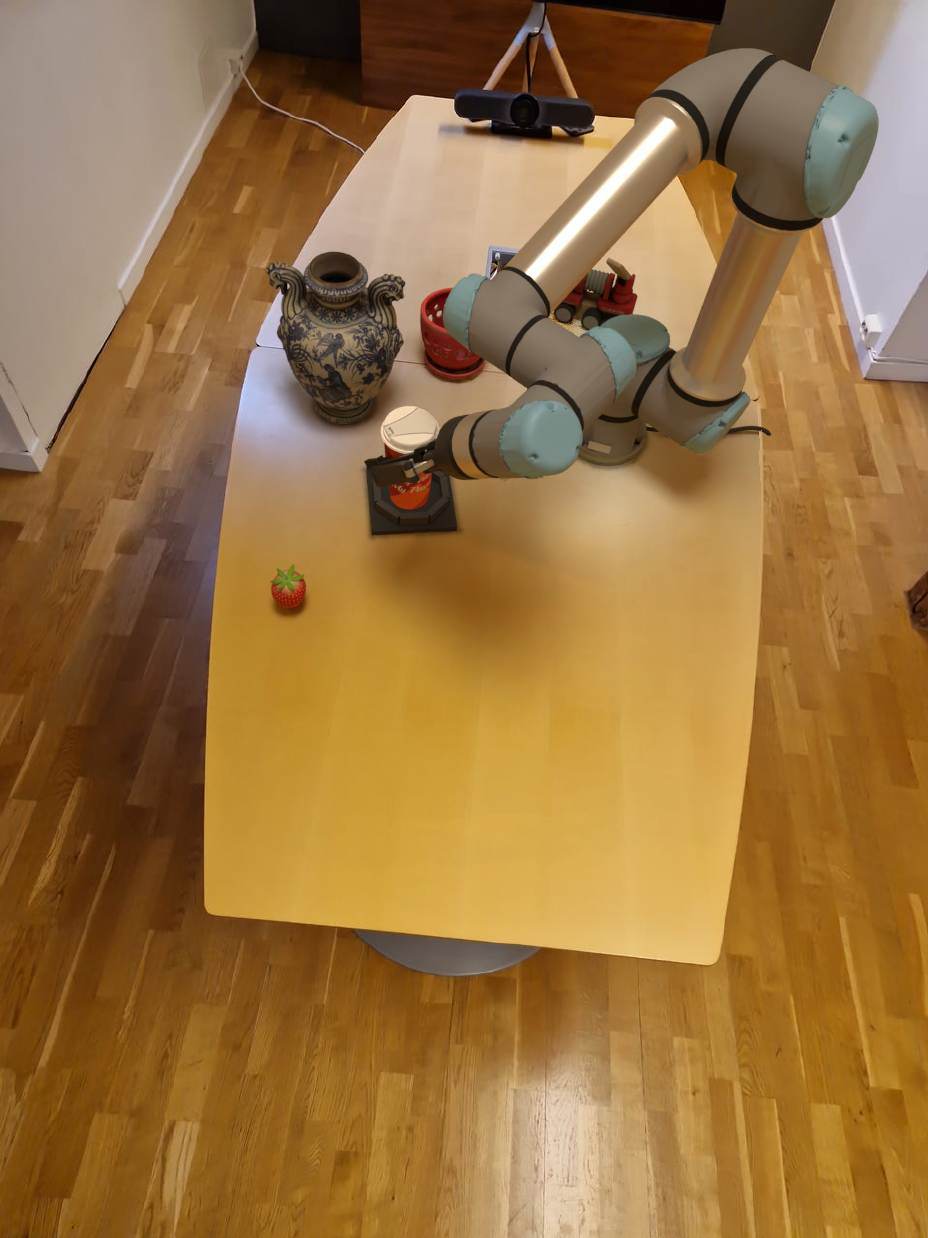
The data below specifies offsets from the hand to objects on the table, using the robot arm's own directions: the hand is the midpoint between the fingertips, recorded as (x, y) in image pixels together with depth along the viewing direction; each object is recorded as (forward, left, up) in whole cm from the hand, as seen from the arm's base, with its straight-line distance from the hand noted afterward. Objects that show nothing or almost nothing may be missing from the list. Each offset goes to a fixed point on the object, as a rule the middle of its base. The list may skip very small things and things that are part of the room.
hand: (395, 455), depth 114 cm
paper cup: (-2, +3, -5) cm, 6 cm away
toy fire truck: (-43, -52, -22) cm, 71 cm away
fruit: (+17, +10, -22) cm, 29 cm away
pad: (-3, -9, -21) cm, 24 cm away
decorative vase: (+7, -32, -22) cm, 39 cm away
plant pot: (-14, -42, -22) cm, 50 cm away
